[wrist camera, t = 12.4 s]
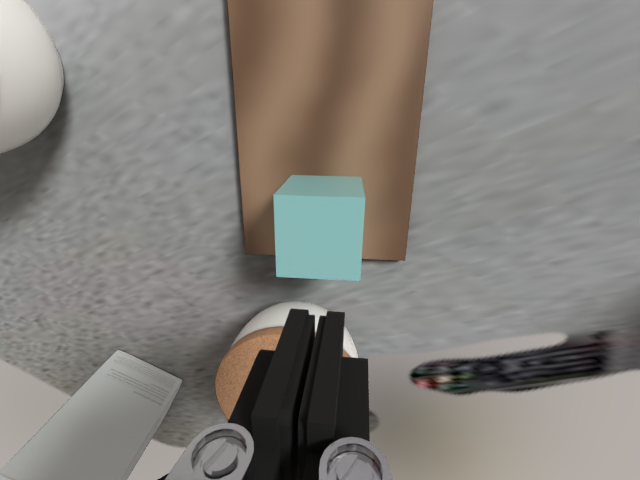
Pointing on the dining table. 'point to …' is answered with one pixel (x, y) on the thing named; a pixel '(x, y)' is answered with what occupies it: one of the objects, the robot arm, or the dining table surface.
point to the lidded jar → (251, 340)
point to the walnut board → (330, 106)
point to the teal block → (319, 227)
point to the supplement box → (99, 425)
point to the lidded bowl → (26, 75)
